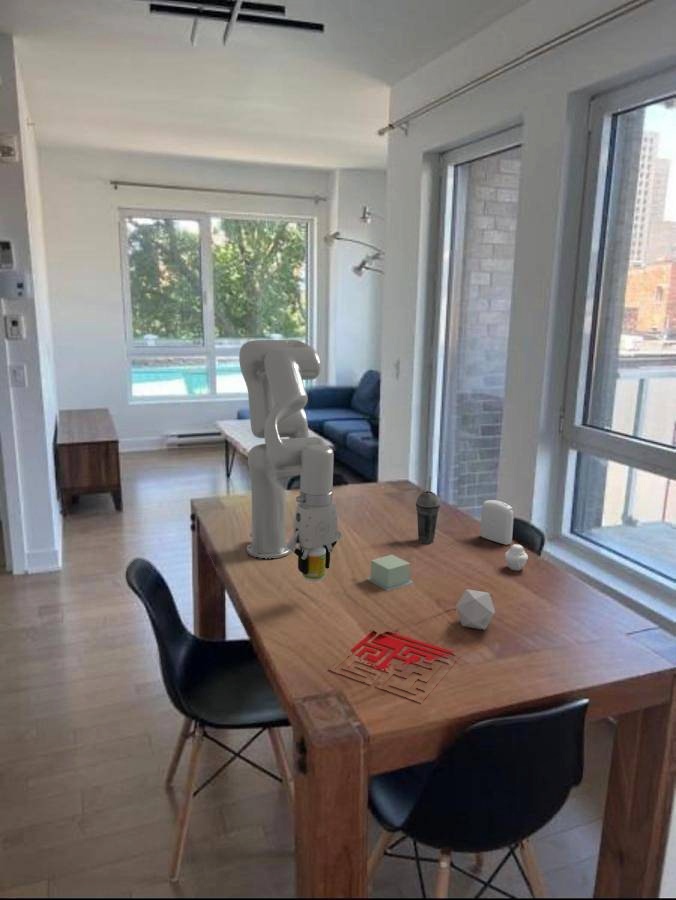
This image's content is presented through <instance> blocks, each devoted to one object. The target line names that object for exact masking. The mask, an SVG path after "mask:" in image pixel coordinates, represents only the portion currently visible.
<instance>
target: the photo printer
mask: <svg viewBox="0 0 676 900" xmlns="http://www.w3.org/2000/svg"><path fill="white" fill-rule="evenodd" d="M514 518H515V510H514V508H513V507H512V506H511V505H509V504H508V503H505V502H503V501H500V500H495V499H491V500H485V501H484V502H483V504H482V507H481V520H480V537H481V538H483V539H487V540H489V541H491V542H496V543H498V544H502V545H505V546H507V545H511V544H512V542H513V534H514V533H513V531H514V530H513V529H514Z"/></svg>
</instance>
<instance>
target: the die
mask: <svg viewBox="0 0 676 900" xmlns="http://www.w3.org/2000/svg"><path fill="white" fill-rule="evenodd" d="M455 609H456V612H457V615H458V618H459V621H460V624H461V626H462V627H466V628H472V629H477V630H482V629H483V630H484V631H485V630H486V629H487V627H488V625H489V623H490V622H491V620H492V618H493V616H494V615H495V613H496V610H495V607H494V603H493V601H492V598H491V594H490V592H485V591H481V590H480V591H479V590H473V589H465V591H464V592H463V594H462V595H461V597H460V599H459V601H458V602H457V604H456V606H455Z"/></svg>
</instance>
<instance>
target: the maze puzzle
mask: <svg viewBox="0 0 676 900" xmlns="http://www.w3.org/2000/svg"><path fill="white" fill-rule="evenodd" d="M376 634H378V632H377V631H375V630H372V631H370V633H369V634H367V636H365V637H364V638H363V639H361V641H360V642H358V643H357V644H356V645H354V646H353V647H352V648H351V649H350V650H351V652H352V653H353V652H354V653H356V652H357V651H358V650H359V649H361V647H363V646H365V647H363V648H362V649H361V650H360V651H358V653H357V654H355V655H354V656H358V657H360V656H361V655H362V656H364V655H365V654H366V653H367V654H366V656H364V657H363V659H364V658H366V659H368V660H367V662H368V663H367V664H371V665H370V666H372V667H376V668H378V669H384V671H386V669H385V668H388V667H389V666H390V665H391V666H392V663H390V661H392V660H393V659H397V658H399V659H398V660H400V659H402V660H401V661H403V660H405V661H404V662H403V664H401V665H403V666H404V664H406V665H407V663H408V664H409V662H412V663H413V662H415V663H416V662H419V661H420V659H422V657H424V656H426V657H424V659H425V660H428V661H430V660H432V659H433V658H434V659H436V658H438V657H439V658H440V657H441V656H444V655H446V656H447V655H448V653H451V654H453V653H454V652H455V651H452V650H449V649H446V648H444V647H440V646H436V645H433V644H430V643H427V642H424V641H420V640H417V639H414V638H410V637H408V636H404V635H400V634H398V633H394V632H391V631H385V632H382V633H379V634H378V635H377V636H376V637H375V635H376ZM373 637H375V638H373ZM372 638H373V639H372ZM371 639H372V641H371V643H370V642H368V641H370V640H371ZM362 645H363V646H362ZM419 645H420V646H419ZM406 646H407V648H406V649H404V648H405V647H406ZM357 649H358V650H357ZM390 649H391V650H393V651H392V652H391V653H390V654H389V655H388V656H386V654H388V652H390ZM403 649H404V651H402V650H403ZM356 650H357V651H356ZM438 650H439V651H438ZM355 651H356V652H355ZM366 651H367V652H366ZM378 651H380V653H378ZM401 651H402V653H401V655H400V654H399V653H400V652H401ZM441 651H443V652H441ZM365 652H366V653H365ZM445 652H447V653H446V654H445ZM452 652H453V653H452ZM354 653H353V654H354ZM377 653H378V655H375V654H377ZM410 653H411V655H409V654H410ZM431 653H432V654H431ZM435 654H436V655H435ZM451 654H450V655H451ZM407 655H409V657H407ZM438 655H440V656H438ZM362 656H361V657H362ZM384 656H386V658H385V659H383V661H382V662H380V663H379V664H376V663H375V662H377V663H378V662H379V661H380V660H381V659H382V658H384ZM361 657H360V658H361ZM394 657H395V658H394ZM435 657H436V658H435ZM444 657H445V656H444ZM444 657H443V658H444ZM439 658H438V659H439ZM366 659H365V660H366ZM424 659H423V661H424ZM434 659H433V660H434ZM361 660H362V659H361ZM361 660H360V661H361ZM369 660H371V661H369ZM378 660H379V661H378ZM372 661H374V662H373V663H372ZM363 663H364V662H363ZM412 663H411V664H412ZM387 664H388V665H389V666H388V665H387ZM373 665H375V666H373ZM409 665H410V664H409ZM391 666H390V667H391ZM396 666H397V665H394V667H396ZM372 667H371V668H372ZM390 667H389V668H390ZM389 668H388V669H389ZM378 669H377V670H378ZM384 671H383V672H384ZM379 672H380V673H382V671H379Z"/></svg>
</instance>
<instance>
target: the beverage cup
mask: <svg viewBox="0 0 676 900" xmlns="http://www.w3.org/2000/svg"><path fill="white" fill-rule="evenodd" d="M428 479H429V480H428V491H427V490H425V491H423V492H422V493H420V494H419V495H418V497H417V499H416V501H415V507H416V512H417V513H416V514H417V536H418V537H417V538H418V542H420V543H421V544H426V545H427V544H428V545H429V544H432V543H434V542H435V541H434V539H435V535H436V528H437V521H438V513H439V511H440V507H441V504H440V498H439V496H437V494H436V493H435V492H433V491H431V482H432V477H431V476H429V478H428Z"/></svg>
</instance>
